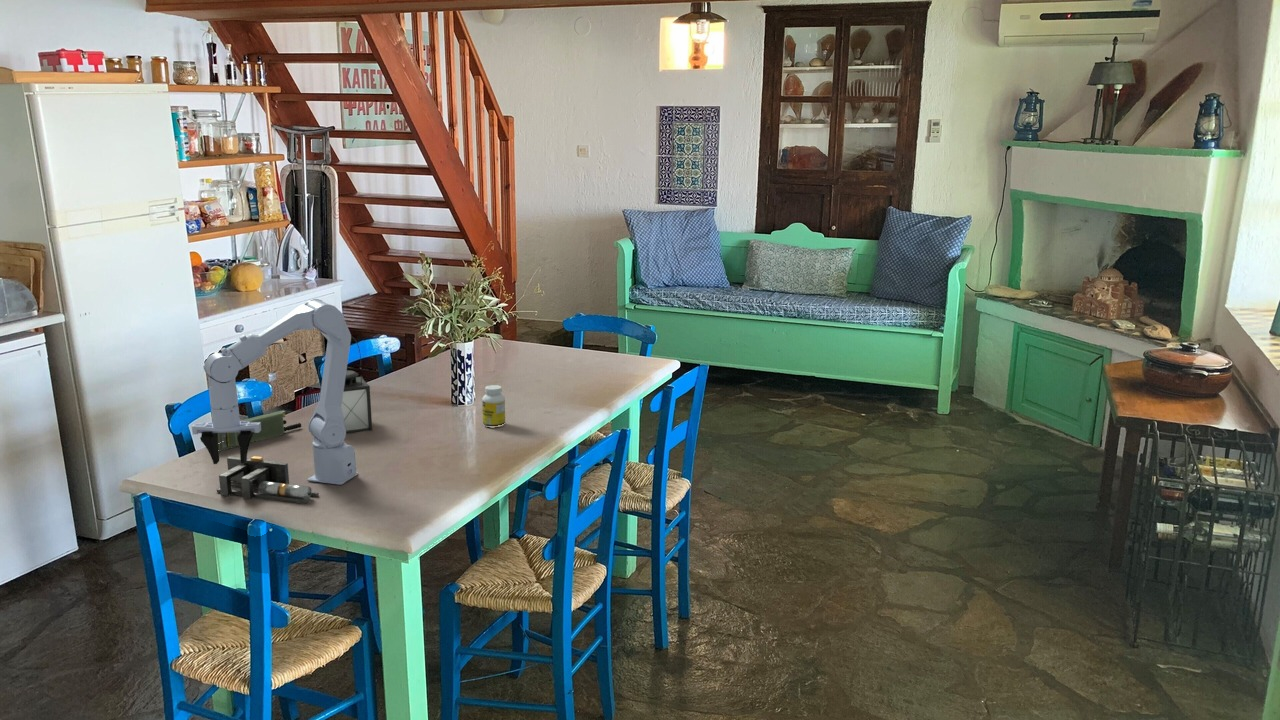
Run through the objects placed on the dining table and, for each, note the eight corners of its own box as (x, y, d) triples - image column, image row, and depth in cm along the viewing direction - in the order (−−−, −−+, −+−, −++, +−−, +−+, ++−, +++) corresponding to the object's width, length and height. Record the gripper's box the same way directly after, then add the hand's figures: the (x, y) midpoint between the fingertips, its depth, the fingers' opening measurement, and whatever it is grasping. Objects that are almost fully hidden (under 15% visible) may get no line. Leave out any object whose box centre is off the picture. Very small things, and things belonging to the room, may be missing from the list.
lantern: (372, 430, 269) (367, 334, 262) (332, 436, 264) (325, 338, 257) (364, 420, 278) (359, 327, 271) (325, 424, 273) (319, 330, 267)
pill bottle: (480, 423, 276) (478, 385, 273) (501, 420, 279) (500, 383, 276) (487, 430, 270) (486, 391, 267) (508, 427, 273) (507, 388, 270)
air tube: (312, 495, 221) (310, 484, 220) (304, 502, 218) (302, 490, 217) (268, 490, 224) (265, 478, 223) (259, 497, 221) (257, 485, 220)
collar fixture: (326, 491, 224) (324, 464, 223) (303, 506, 216) (300, 478, 214) (232, 479, 231) (230, 453, 229) (206, 493, 222) (203, 466, 220)
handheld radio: (212, 449, 252) (297, 427, 271) (218, 453, 250) (303, 430, 269) (210, 426, 250) (296, 405, 269) (216, 429, 248) (302, 408, 267)
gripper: (262, 400, 219) (267, 455, 222) (196, 401, 217) (202, 457, 220) (254, 409, 212) (259, 465, 215) (186, 410, 210) (192, 467, 214)
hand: (230, 462), depth 217 cm, fingers open, 5 cm apart
